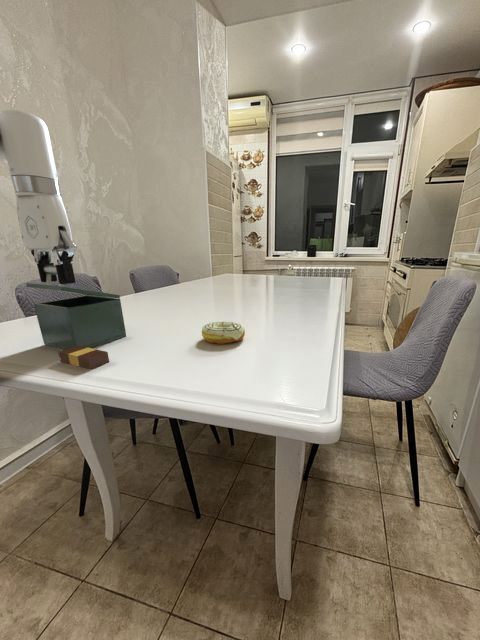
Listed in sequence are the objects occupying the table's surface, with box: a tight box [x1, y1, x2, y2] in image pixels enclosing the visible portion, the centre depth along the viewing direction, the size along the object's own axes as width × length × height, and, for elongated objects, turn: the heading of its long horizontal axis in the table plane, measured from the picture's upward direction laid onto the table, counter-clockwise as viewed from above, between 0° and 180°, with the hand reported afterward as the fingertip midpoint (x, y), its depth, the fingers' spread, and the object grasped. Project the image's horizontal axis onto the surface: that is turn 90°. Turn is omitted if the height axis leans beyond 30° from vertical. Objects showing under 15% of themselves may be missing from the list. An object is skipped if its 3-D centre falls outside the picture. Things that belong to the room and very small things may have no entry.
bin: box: [33, 295, 127, 350], centre depth 70 cm, size 13×12×10 cm
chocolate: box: [58, 346, 110, 370], centre depth 59 cm, size 9×4×2 cm, turn 66°
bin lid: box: [25, 264, 121, 299], centre depth 67 cm, size 14×12×5 cm
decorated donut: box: [201, 321, 246, 345], centre depth 73 cm, size 10×11×4 cm
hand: (58, 281), depth 64 cm, fingers closed on bin lid, 5 cm apart
